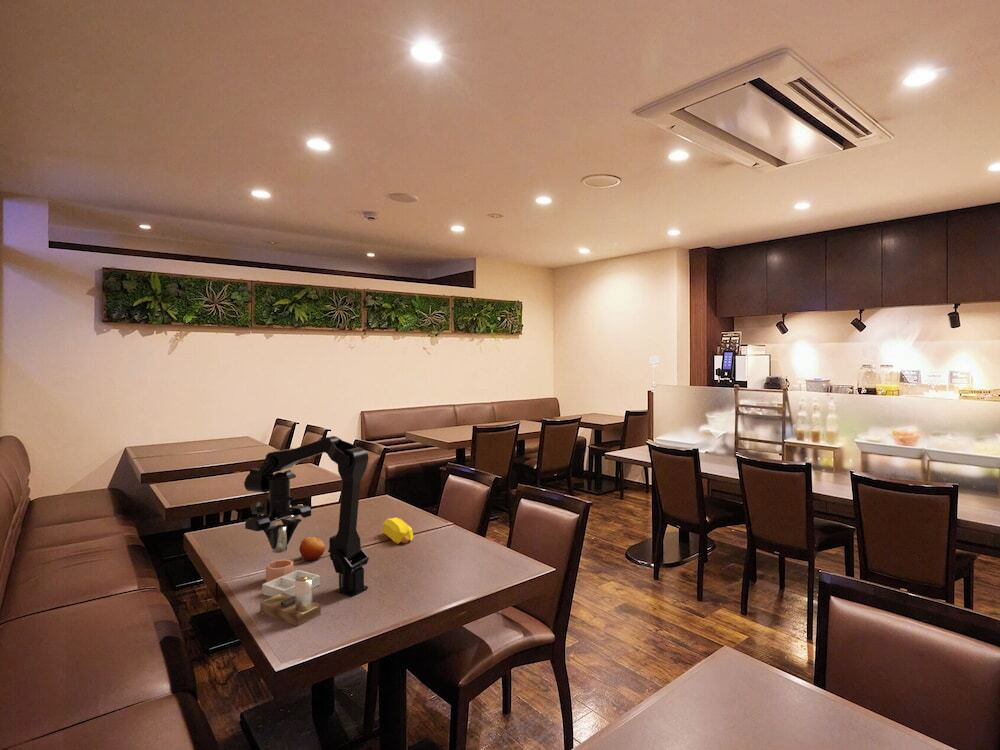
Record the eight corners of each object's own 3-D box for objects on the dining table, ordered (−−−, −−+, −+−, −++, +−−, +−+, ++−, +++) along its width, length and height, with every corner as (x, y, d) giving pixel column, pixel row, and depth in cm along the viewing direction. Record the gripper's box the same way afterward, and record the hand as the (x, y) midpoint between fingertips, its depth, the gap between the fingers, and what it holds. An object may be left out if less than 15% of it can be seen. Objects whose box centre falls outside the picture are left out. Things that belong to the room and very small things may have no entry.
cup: (298, 578, 157) (298, 562, 157) (277, 586, 151) (277, 570, 151) (282, 573, 161) (282, 558, 161) (261, 581, 155) (261, 565, 155)
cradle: (321, 614, 134) (321, 600, 134) (298, 626, 128) (298, 611, 128) (282, 602, 141) (282, 588, 141) (259, 612, 135) (259, 598, 135)
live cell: (315, 606, 133) (315, 576, 132) (302, 613, 129) (302, 582, 129) (304, 603, 135) (304, 573, 134) (291, 609, 131) (291, 579, 131)
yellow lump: (396, 547, 185) (416, 543, 189) (395, 528, 185) (416, 524, 189) (379, 533, 201) (398, 530, 205) (379, 516, 200) (398, 513, 204)
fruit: (293, 552, 176) (306, 530, 177) (315, 562, 178) (327, 540, 179) (293, 560, 168) (306, 537, 169) (315, 570, 170) (329, 547, 172)
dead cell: (290, 549, 157) (289, 524, 157) (278, 553, 153) (278, 527, 153) (281, 547, 159) (280, 522, 159) (269, 551, 155) (269, 525, 155)
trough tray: (320, 585, 152) (319, 575, 152) (284, 601, 142) (284, 590, 142) (298, 579, 156) (298, 569, 156) (262, 594, 146) (262, 584, 146)
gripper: (288, 484, 168) (288, 534, 168) (232, 497, 152) (233, 551, 152) (312, 488, 162) (312, 539, 163) (257, 501, 146) (258, 558, 146)
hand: (279, 546), depth 156 cm, fingers closed on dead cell, 4 cm apart
